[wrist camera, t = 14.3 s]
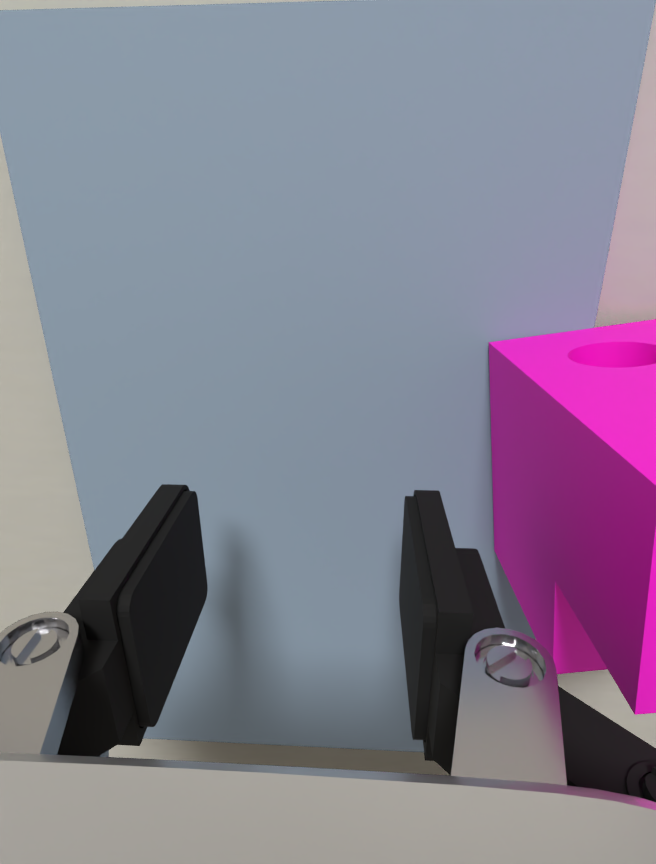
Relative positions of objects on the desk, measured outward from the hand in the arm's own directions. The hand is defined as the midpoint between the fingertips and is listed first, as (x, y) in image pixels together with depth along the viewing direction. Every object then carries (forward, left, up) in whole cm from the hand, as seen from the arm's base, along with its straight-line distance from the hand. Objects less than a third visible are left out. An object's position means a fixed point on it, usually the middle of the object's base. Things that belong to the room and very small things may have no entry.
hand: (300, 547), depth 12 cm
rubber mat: (0, 0, -4) cm, 4 cm away
